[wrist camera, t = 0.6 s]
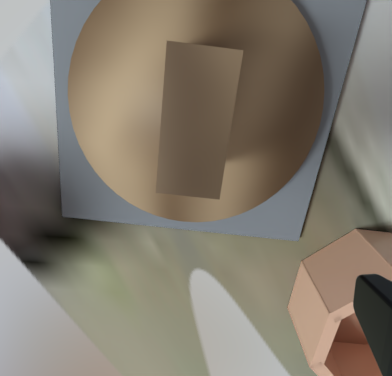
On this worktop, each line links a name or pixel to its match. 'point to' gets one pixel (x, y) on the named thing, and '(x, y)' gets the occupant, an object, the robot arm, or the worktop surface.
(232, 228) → the mat
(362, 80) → the worktop surface
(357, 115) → the worktop surface
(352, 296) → the bowl
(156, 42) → the lid
